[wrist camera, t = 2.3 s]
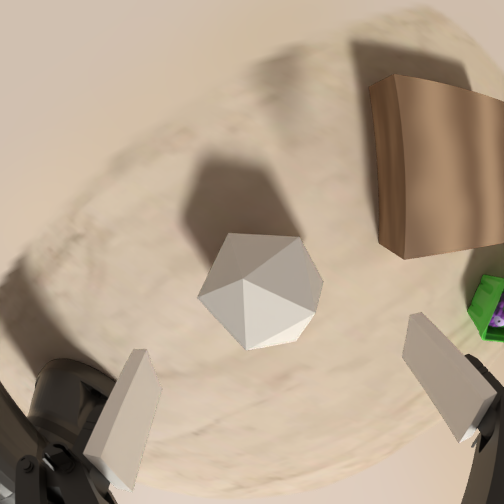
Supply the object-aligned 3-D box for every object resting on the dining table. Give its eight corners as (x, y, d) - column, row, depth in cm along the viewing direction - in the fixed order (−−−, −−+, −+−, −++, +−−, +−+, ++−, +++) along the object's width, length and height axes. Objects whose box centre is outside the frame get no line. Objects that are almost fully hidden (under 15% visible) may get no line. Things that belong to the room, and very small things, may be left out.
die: (209, 216, 24) (160, 318, 18) (307, 191, 19) (279, 318, 13) (255, 276, 29) (227, 367, 23) (341, 265, 24) (327, 374, 18)
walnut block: (377, 242, 25) (403, 259, 20) (366, 87, 20) (393, 73, 16) (477, 230, 25) (507, 242, 20) (473, 105, 21) (504, 102, 16)
